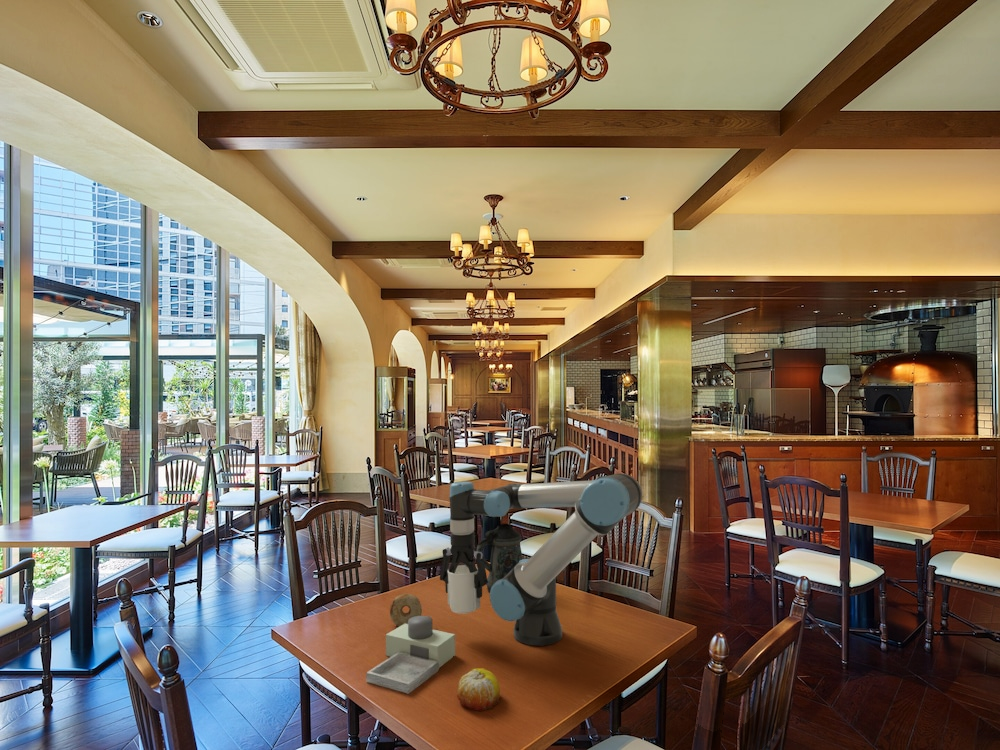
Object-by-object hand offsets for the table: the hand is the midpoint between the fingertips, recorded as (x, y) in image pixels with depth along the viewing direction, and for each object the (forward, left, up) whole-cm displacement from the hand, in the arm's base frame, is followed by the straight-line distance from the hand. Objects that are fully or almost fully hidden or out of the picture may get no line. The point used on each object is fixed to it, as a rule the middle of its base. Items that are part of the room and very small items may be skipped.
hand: (464, 605), depth 173 cm
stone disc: (+22, 0, -10) cm, 25 cm away
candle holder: (0, 0, -1) cm, 1 cm away
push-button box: (+5, +15, -10) cm, 19 cm away
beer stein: (+8, -44, -10) cm, 46 cm away
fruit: (-22, +29, -10) cm, 38 cm away
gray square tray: (+2, +27, -10) cm, 29 cm away
